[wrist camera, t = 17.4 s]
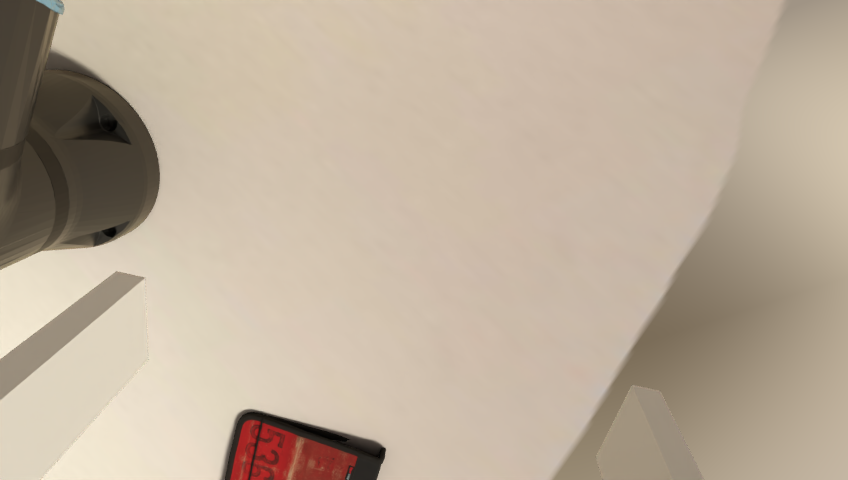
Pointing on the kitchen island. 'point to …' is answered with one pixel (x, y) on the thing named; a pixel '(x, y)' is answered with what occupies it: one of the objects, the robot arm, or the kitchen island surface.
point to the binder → (294, 453)
